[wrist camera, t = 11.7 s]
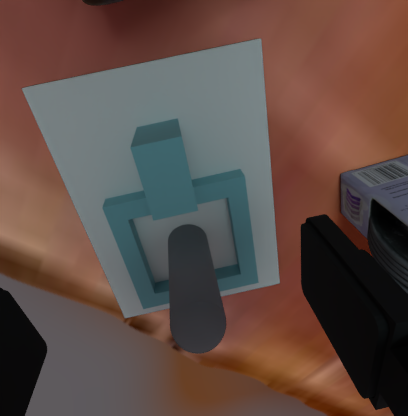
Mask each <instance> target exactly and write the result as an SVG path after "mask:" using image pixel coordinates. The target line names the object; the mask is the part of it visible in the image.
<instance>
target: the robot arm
mask: <svg viewBox="0 0 408 416" xmlns="http://www.w3.org/2000/svg"><path fill="white" fill-rule="evenodd" d="M301 285H302V290H303V293H304V295H305V297H306V299H307V301H308V302H309V304H310V306H311V308H312V310H313V311H314V313H315V315H316V317H317V319H318V320H319V322H320V324H321V326H322V328H323V329H324V331H325V333H326V335H327V336H328V338H329V340H330V342H331V344H332V345H333V347H334V349H335V351H336V353H337V354H338V356H339V358H340V360H341V362H342V363H343V365H344V367H345V369H346V371H347V372H348V374H349V376H350V378H351V380H352V381H353V383H354V385H355V387H356V389H357V390H358V392H359V394H360V395H361V396H362V397H363V398H364V399H366V398H369V399H370V401H371V403H372V405H373V406H374V408H375V410H377V409H382V408H386V407H389V408H390V410H391V411H392V413H393V414H394V416H408V294H407V293H406V292H405V291H404V290H403V289H402V287H401V286H400V285H399V284H398V283H397V282H396V281H395V280H394V279H393V278H392V277H391V276H390V275H389V274H388V273H387V272H386V271H385V270H384V269H383V268H382V267H381V266H380V265H379V263H378V262H377V261H376V260H375V259H374V258H373V257H372V256H371V255H370V254H369V253H368V252H366V251H365V250H362V249H361V250H359V249H358V248H357V247H356V246H355V245H354V244H353V243H352V242H351V240H350V239H349V238H348V237H347V236H346V235H345V234H344V233H343V232H342V231H341V230H340V229H339V228H338V226H337V225H336V224H335V223H334V222H333V221H332V220H331V219H330V218H329V217H328V216H327V215H325V214H323V215H319V216H314V217H310V218H307V219H306V223H304V224H301ZM46 353H47V346H46V343H45V341H44V340H43V338H42V337H41V336H40V334H39V333H38V331H37V330H36V329H35V327H34V326H33V325H32V323H31V322H30V320H29V319H28V318H27V316H26V315H25V314H24V312H23V311H22V309H21V308H20V306H19V305H18V304H17V302H16V301H15V300H14V298H13V297H12V295H11V294H10V293H9V292H8V291H6V290H3V289H2V288H0V416H25V413H26V410H27V408H28V405H29V402H30V399H31V396H32V394H33V390H34V388H35V385H36V382H37V379H38V377H39V374H40V371H41V368H42V365H43V363H44V359H45V357H46Z"/></svg>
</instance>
